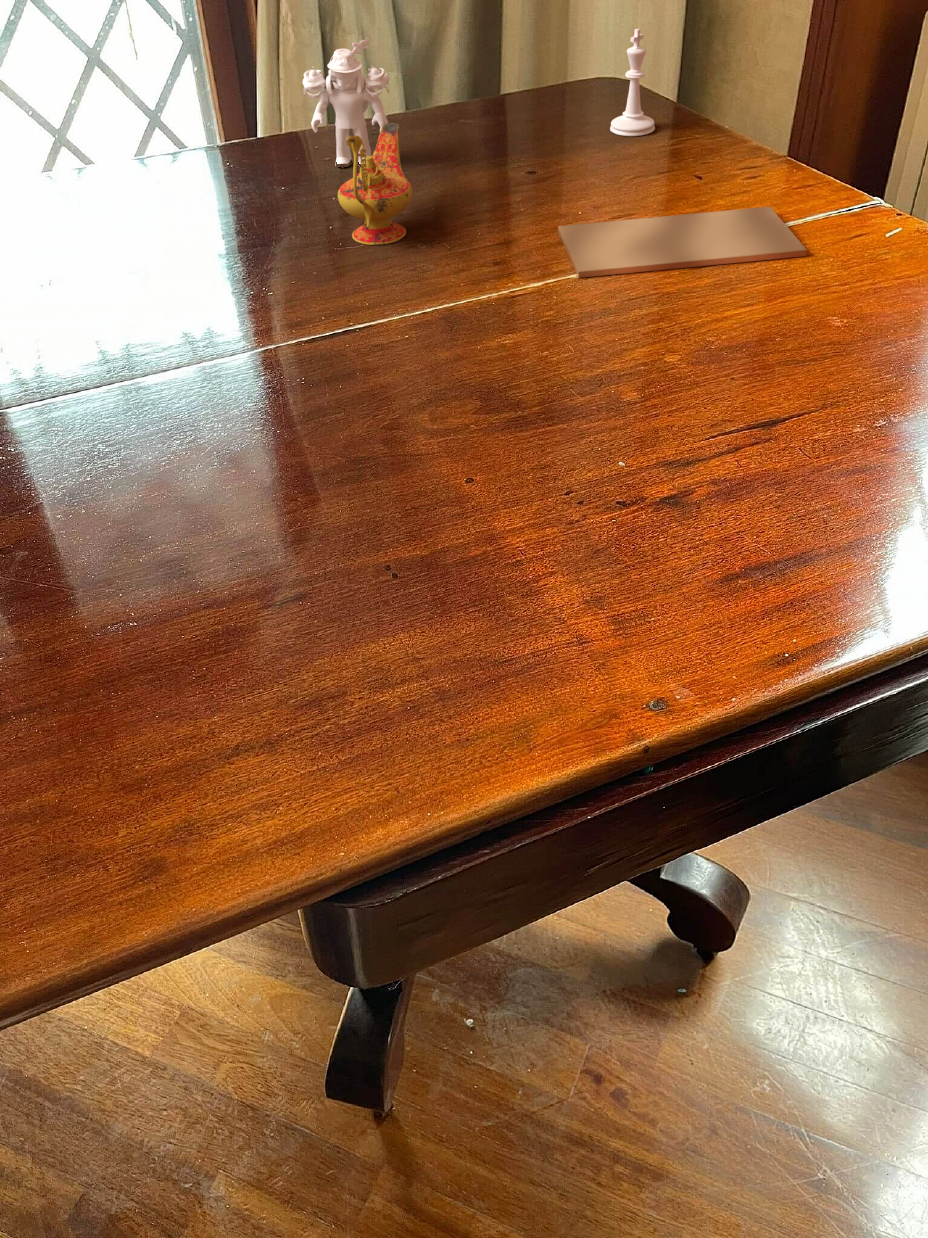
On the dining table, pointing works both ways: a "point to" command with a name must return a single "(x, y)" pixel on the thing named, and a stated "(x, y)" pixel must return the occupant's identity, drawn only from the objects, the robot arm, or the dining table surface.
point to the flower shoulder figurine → (348, 98)
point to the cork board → (678, 241)
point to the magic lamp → (377, 189)
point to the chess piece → (634, 96)
